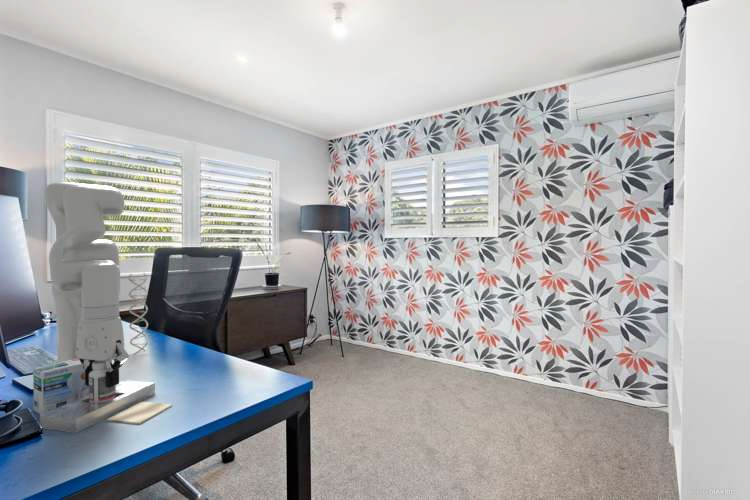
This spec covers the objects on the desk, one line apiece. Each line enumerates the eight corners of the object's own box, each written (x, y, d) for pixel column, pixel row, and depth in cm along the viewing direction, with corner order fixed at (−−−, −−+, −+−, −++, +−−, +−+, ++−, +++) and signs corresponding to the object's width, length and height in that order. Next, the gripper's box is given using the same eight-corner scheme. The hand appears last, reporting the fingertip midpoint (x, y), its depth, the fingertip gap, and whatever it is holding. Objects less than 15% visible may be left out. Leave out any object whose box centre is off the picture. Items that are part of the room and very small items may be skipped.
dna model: (139, 350, 148) (137, 272, 147) (153, 351, 146) (151, 272, 146) (124, 355, 141) (122, 274, 141) (139, 356, 140) (137, 274, 139)
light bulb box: (43, 417, 91) (41, 372, 91) (32, 411, 95) (31, 367, 94) (94, 401, 100) (93, 360, 100) (83, 396, 104) (82, 356, 104)
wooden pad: (106, 420, 89) (106, 419, 89) (141, 403, 99) (141, 401, 99) (139, 424, 87) (139, 422, 87) (171, 406, 97) (171, 404, 97)
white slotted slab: (40, 428, 86) (39, 415, 85) (124, 390, 107) (124, 380, 107) (76, 432, 83) (76, 419, 83) (154, 393, 105) (154, 382, 105)
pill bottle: (119, 394, 99) (118, 357, 98) (110, 403, 94) (109, 363, 93) (95, 396, 98) (95, 358, 97) (84, 405, 92) (83, 365, 92)
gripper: (57, 313, 93) (59, 387, 94) (116, 317, 89) (117, 393, 90) (87, 308, 100) (88, 376, 101) (142, 311, 97) (143, 382, 97)
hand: (102, 383), depth 95 cm, fingers closed on pill bottle, 5 cm apart
